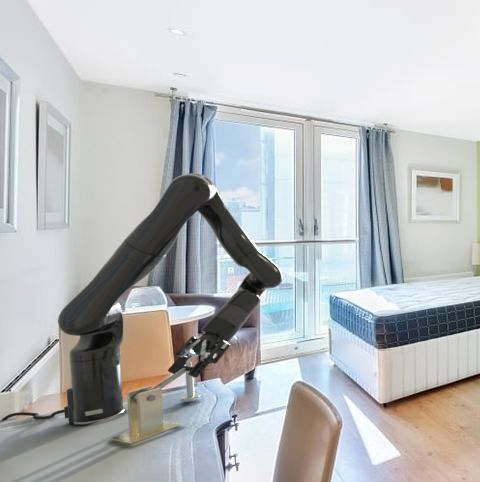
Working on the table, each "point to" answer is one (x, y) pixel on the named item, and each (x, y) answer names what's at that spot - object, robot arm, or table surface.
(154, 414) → the bracket
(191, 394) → the screw
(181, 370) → the lever
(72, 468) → the table surface
